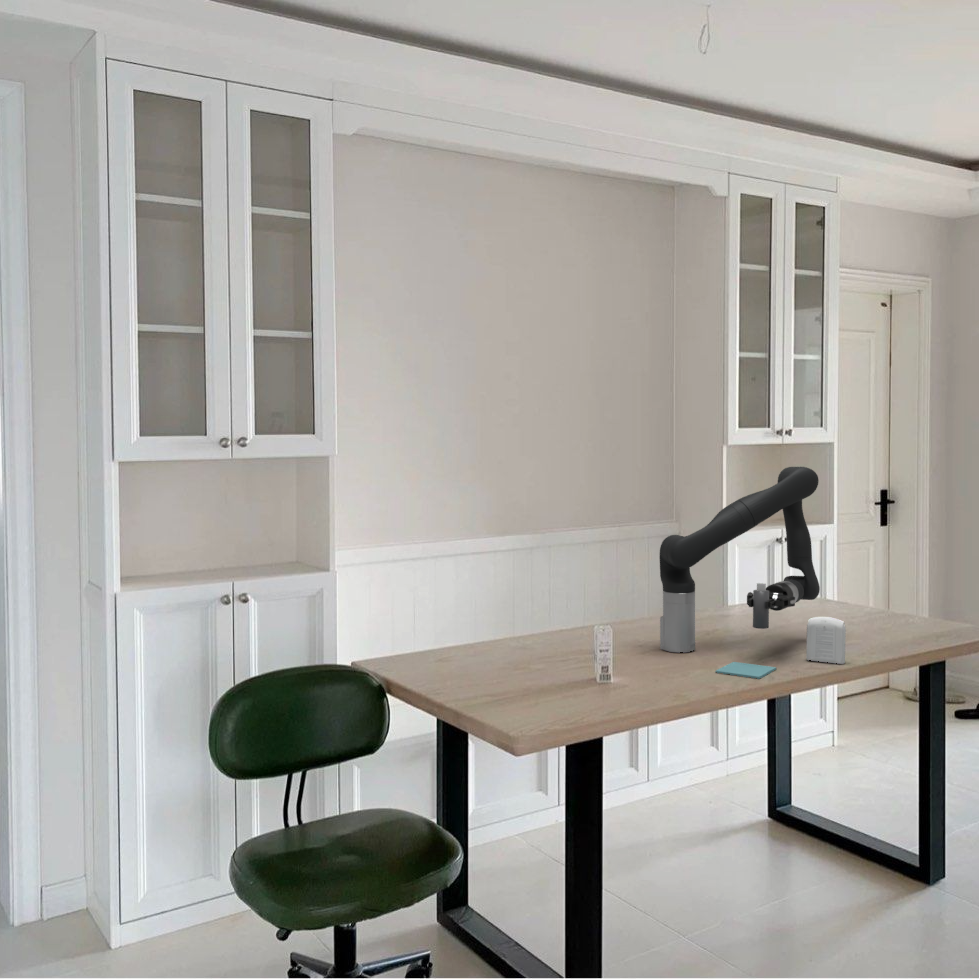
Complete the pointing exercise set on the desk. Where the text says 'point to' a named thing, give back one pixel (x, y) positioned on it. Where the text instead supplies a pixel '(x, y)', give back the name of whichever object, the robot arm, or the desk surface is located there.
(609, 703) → the desk surface
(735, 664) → the teal mat
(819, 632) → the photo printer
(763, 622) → the grey capped bottle
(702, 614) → the desk surface
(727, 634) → the desk surface
